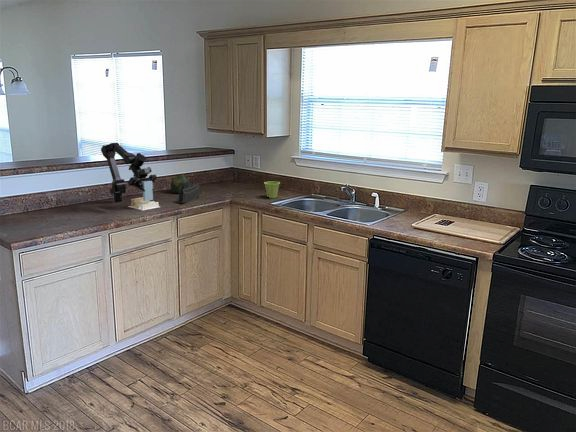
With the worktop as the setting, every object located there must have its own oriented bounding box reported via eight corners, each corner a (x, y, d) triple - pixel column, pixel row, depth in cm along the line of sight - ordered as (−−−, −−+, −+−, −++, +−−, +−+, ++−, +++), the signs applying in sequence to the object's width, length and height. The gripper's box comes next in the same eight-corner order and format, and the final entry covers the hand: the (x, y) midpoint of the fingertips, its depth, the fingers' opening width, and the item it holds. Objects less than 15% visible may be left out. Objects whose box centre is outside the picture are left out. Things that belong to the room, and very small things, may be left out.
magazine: (180, 192, 302) (198, 173, 327) (176, 192, 303) (194, 173, 328) (184, 214, 310) (202, 194, 335) (180, 214, 311) (198, 194, 336)
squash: (163, 185, 342) (174, 172, 336) (175, 183, 356) (186, 170, 350) (175, 199, 340) (186, 186, 334) (186, 196, 354) (197, 183, 348)
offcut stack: (131, 206, 291) (130, 199, 290) (143, 203, 299) (143, 197, 298) (137, 207, 287) (137, 200, 286) (150, 205, 295) (150, 198, 294)
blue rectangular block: (143, 200, 286) (142, 181, 283) (151, 199, 290) (150, 180, 287) (145, 201, 284) (144, 182, 282) (153, 199, 289) (152, 181, 286)
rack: (127, 208, 291) (126, 201, 290) (145, 205, 302) (145, 198, 300) (142, 212, 281) (142, 205, 280) (161, 209, 292) (160, 202, 291)
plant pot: (275, 195, 345) (276, 180, 343) (282, 198, 335) (282, 183, 332) (261, 196, 340) (261, 181, 338) (267, 199, 330) (267, 184, 327)
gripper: (129, 164, 277) (141, 184, 273) (154, 161, 291) (166, 181, 288) (122, 175, 283) (134, 195, 280) (147, 172, 298) (159, 191, 294)
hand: (149, 190), depth 285 cm, fingers closed on blue rectangular block, 6 cm apart
